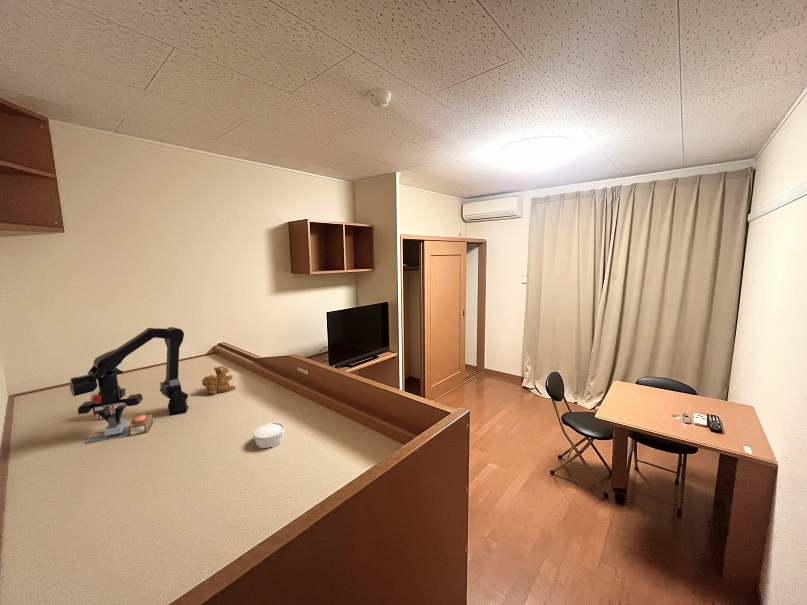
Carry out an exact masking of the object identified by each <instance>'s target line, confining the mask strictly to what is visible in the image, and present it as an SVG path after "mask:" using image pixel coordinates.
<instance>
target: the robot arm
mask: <svg viewBox="0 0 807 605" xmlns="http://www.w3.org/2000/svg"><path fill="white" fill-rule="evenodd" d="M184 337H185V332H184V331H183V329H181V328H177V327H174V326H170V327H166V328H162V327H161V328H160V327H159V328H154V327H148V328H146V329H144V330H143V331H142V332H140V333H139V334H137V335H136V336H134V337H133V338H131V339H130V340H128V341H127V342H125V343H123V344H122V345H121V346H119V347H118V348H116V349H112V350H110V351H107V352H105V353H103V354H101V355H99V356H97V357H95V358H94V360H93V365H92V367H91V368H90V369H89V370H88V372H87V374H86V375H82V376H77V377H76V376H74V377H71V378H70V382H69V384H70V385H69V390H70V393H71V396H72V397H77V396H82V395H83V394H89V393H93V392H95V390H97V388H98V390H99V391H100V392H99V393H98V395H100V397H101V402H100V403H98V402H97V401H96V400H95V401H91V400H89V401H84V402H83V403H82V404H81V405H79V407H78V408H77V414H78V415H83V414H88V413H90V412H91V411H92V410H93V409H94V408H95V412H94V413H95V414H99V415H100V416H102V417H103V418H104V419H103V420H104V421H106V422H107V423H108V418H109V417H110V415H111V414H110V406H113V405H114V406H116V407H115V408H114V409H115V415H116V421H117V423H119V422H120V421H121V417H122V414H123V412H124V410H125V409H126V407H134V406H138V405H139V404H141V402H142V401H143V399H144V398H143V394H141V393H137V394H136V393H135V394H130V395H128V396H127V398H123V397H126V388H125V387H124V388H123V387H122V388H121V386H120V385H119V380H118V375H120V374H123V373H124V371H123V370H121V369H119V368H118V366H119V365H121V364H122V362H123V361H124V360H125V358H126V357H128V356H129V355H130V354H132V353H133V352H135V351H136V350H138V349H139V348H141V347H142V346H144V345H145V344H147V343H149V342H150V341H152V339H154V338H155V339H164V340H163V341H164V342H165V345H166V366H165V367H166V368H165V370H166V371H165V379H164V381H160V382H159V383H160V389H159V392H160V393H161V395H162V396H164V397H166V398H167V399H169V400H168V403H167V409H168V413H169V416H175V415H181V414H185V413H187V412H188V409H189V405H188V396H189V394H188V393H186V392H185V391H182V386H181V382H180V379H179V366H180V365H179V362H180V361H179V360H180V348H181V345H182V344H183V342H184Z"/></svg>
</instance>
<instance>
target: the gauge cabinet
mask: <svg viewBox="0 0 807 605" xmlns="http://www.w3.org/2000/svg"><path fill="white" fill-rule="evenodd" d="M153 425H154V421H153V414H150V415H146V420H145V421H143V422H140V423H134V420H133V419H132V421H131V422H130V423H129V424H128V426H127V427H128V433H129V435H128V437H132V436H136V435H143V434H147V433H149V430H151V428H152V427H153Z"/></svg>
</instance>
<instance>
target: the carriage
mask: <svg viewBox="0 0 807 605" xmlns="http://www.w3.org/2000/svg"><path fill="white" fill-rule="evenodd" d="M107 423H108V425H107V426H106V427H105V429H104V430H103V431H104V433H105V436H108V435H114V434H119V433H123V430H124V429H125V427H127V420H120V422H119V423H117V421H116V415H115V413H112V414H111V415H110V417H109V418H108V422H107Z"/></svg>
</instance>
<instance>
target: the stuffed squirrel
mask: <svg viewBox="0 0 807 605" xmlns="http://www.w3.org/2000/svg"><path fill="white" fill-rule="evenodd" d="M213 370H214V371H215V375H213V374H210V375H208V376H204V377H203V379H202V380H200V381H201V382H202V383H201V384H202V386H204V387H205V388H206V392H207V393H208V394H210V395H217V394H218V393H228V392H232V391H234V390H236V389H237V387H236V386H235V385H230V380H232V379H233V375H231V374H229V375H227V373H231V371H230V369H229V368H228V367H227V366H224V365H221V366H220V365H219V366H217V367H216V366H215V367H214V368H213Z"/></svg>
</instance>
